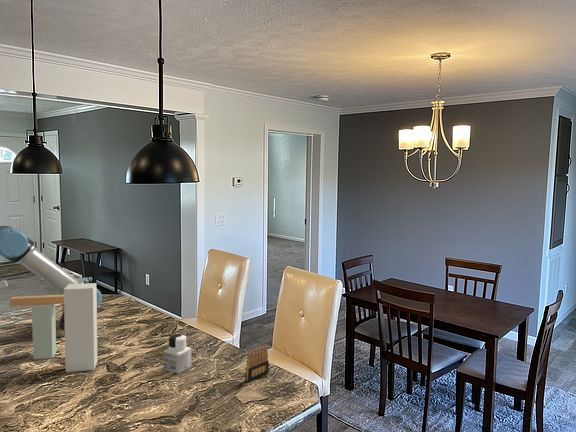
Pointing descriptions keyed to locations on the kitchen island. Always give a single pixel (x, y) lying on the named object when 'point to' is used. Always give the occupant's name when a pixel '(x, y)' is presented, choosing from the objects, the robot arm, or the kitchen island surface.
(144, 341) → the kitchen island surface
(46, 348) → the pale green tall block
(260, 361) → the ammunition clip
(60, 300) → the bar
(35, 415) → the kitchen island surface
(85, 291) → the post
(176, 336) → the container
